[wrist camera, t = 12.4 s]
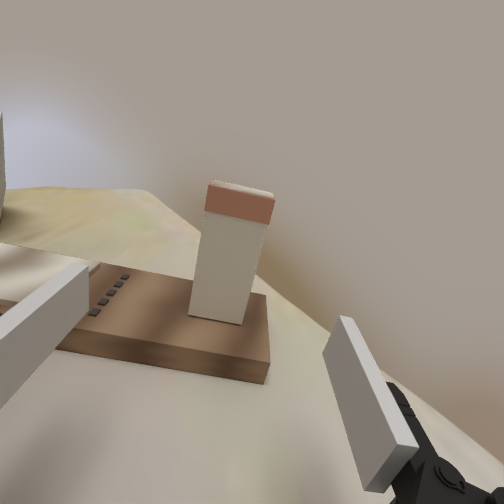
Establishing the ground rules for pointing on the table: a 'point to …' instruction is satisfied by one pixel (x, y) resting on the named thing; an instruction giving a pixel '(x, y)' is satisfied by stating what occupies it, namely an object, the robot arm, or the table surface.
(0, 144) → the supplement box
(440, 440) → the table surface
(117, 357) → the board
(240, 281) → the stub
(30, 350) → the robot arm
